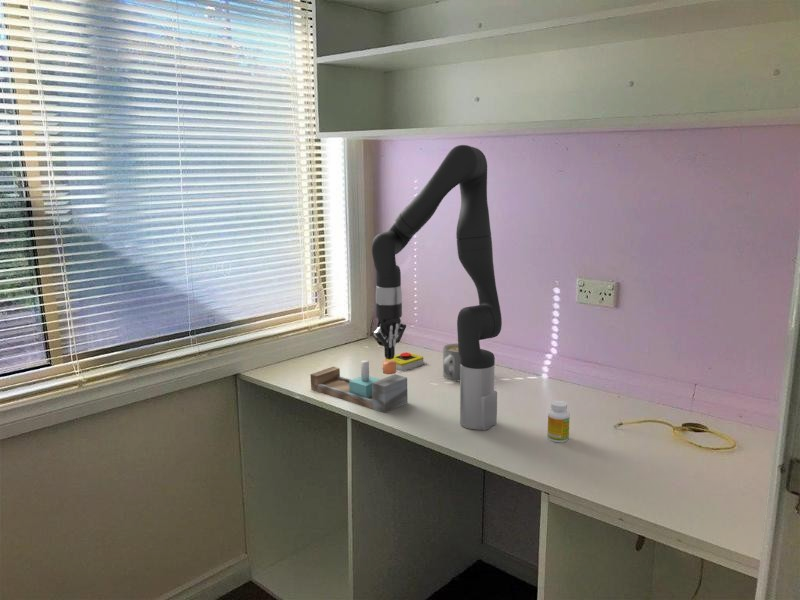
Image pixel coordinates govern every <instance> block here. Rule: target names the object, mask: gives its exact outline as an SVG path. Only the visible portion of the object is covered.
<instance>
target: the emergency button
mask: <svg viewBox="0 0 800 600" xmlns="http://www.w3.org/2000/svg"><path fill="white" fill-rule="evenodd" d="M387 360H389V359H386V358H385V359H384V361H387ZM390 360H393V361H396V372H399V373H402V371H403V372H405V370H406V371H408V369H409V370H411V368H412V369H414V367H415V368H417V366H418V367H420V365H421V366H424V365H426V364H427V362H426V361H424V356H422V355H420V354H419V355H418V354H415V353H411V352H402V353H399V354H395V355H394V358H393V359H390ZM423 364H424V365H423ZM380 369H383V365H381V366H380Z"/></svg>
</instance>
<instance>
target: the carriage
mask: <svg viewBox="0 0 800 600" xmlns="http://www.w3.org/2000/svg"><path fill="white" fill-rule="evenodd" d="M360 372H361V373H360V376H359V377H357V378H353V379H350V381H349V391H350V393H352V394H356V395H359V396H362V397H365V398H369V397H371V396H372V383H373V382H376V381H378V380H381V379H382V378H376V377H373V376H370V360H367V359H366V360H361V361H360Z"/></svg>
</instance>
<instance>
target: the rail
mask: <svg viewBox="0 0 800 600" xmlns="http://www.w3.org/2000/svg"><path fill="white" fill-rule="evenodd" d="M340 369H341V368H339V367H336V366H330V367H328V368H325V369H322V370H319V371H316V372H313V373H310V375H309V376H310V389H311V390H312V389H313V391H315V390H316V391H315V392H319V393H322V394H325V395H327V396H328V395H329V396H330V397H331V396H332V397H334V398H337V399H341V400H344V401H347V402H350V403H353V404H356V405H359V406H363V407H366V408H370V409H372V410H376V411H378V412H382V413H385V414H386V413H388V412H390V411H393V410H395V409H397V408H399V407H402V406H404V405H406V404H408V403H409V401H408V400H409V399H408V377H406V376H402V375H399V374H396V373H395V374H390V375H389V376H386V377H384V378H380V379H381V380H378V381H376V382H373V383H372V396H371V397H369V398H365V397H362V396H359V395H356V394H352V393H350V391H349V381H350V380H351V379H350V378H346V377H344V376H341V374H340V373H341V371H340Z"/></svg>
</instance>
